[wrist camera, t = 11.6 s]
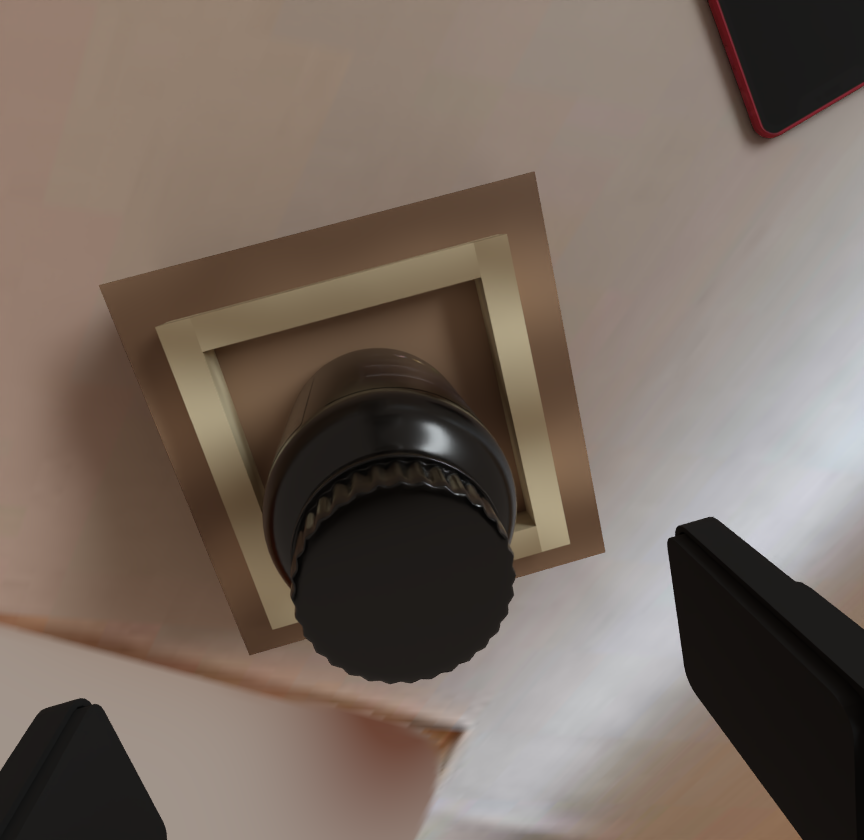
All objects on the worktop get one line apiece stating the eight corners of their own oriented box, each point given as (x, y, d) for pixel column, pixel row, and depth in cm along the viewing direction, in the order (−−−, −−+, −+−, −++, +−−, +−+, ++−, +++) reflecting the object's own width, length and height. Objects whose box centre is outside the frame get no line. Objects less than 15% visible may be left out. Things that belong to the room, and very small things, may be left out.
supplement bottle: (424, 531, 26) (481, 761, 14) (265, 477, 24) (184, 684, 13) (492, 381, 24) (616, 501, 13) (328, 314, 23) (302, 380, 11)
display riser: (152, 276, 27) (80, 288, 20) (498, 186, 28) (546, 166, 21) (268, 581, 32) (243, 678, 25) (561, 498, 33) (619, 569, 26)
